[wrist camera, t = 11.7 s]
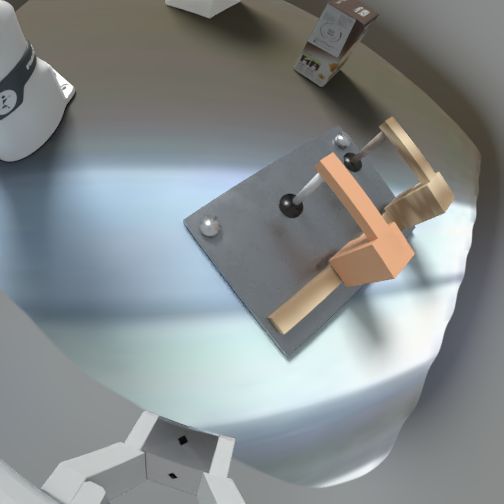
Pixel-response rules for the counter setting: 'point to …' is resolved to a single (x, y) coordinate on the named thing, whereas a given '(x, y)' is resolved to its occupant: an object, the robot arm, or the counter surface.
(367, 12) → the coffee box
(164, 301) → the counter surface
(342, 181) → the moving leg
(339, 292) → the hole plate
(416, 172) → the fixed leg
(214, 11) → the milk
